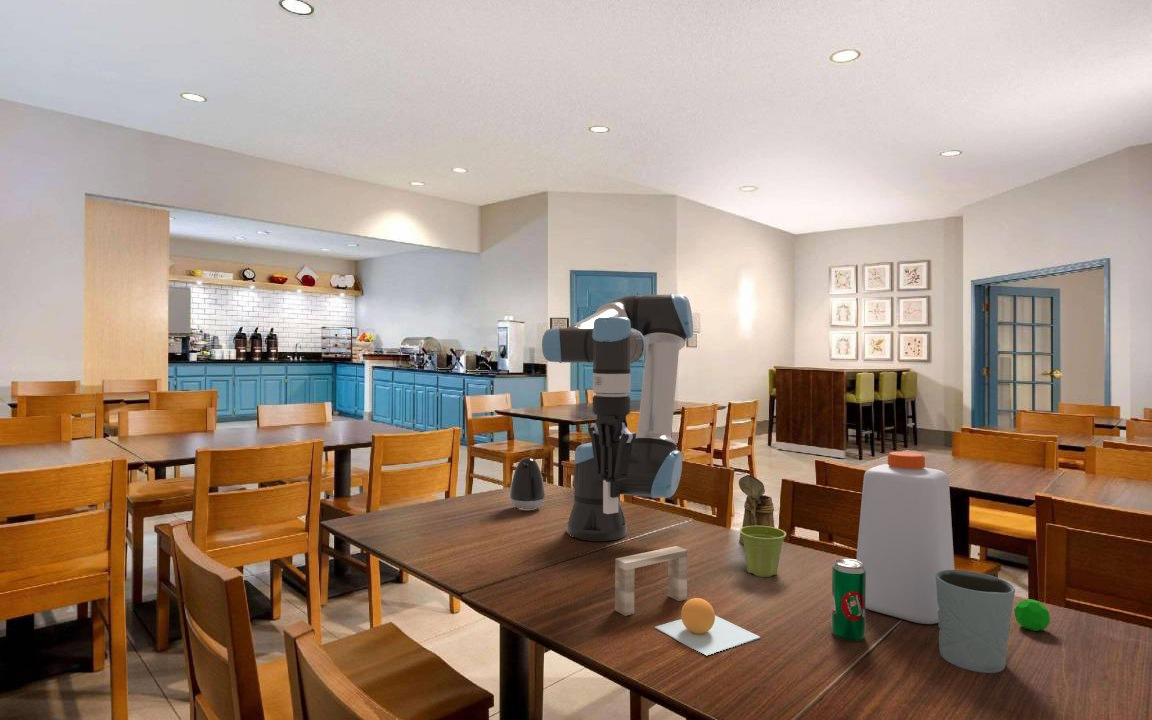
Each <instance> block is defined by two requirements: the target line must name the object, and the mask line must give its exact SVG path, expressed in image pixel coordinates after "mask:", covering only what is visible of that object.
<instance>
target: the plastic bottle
mask: <svg viewBox="0 0 1152 720" xmlns="http://www.w3.org/2000/svg"><path fill="white" fill-rule="evenodd" d="M863 474H864V475H863V484H862V493H861V505H860V516H859V525H858V526H859V527H858V537H857V550H856V559H855V560H856V561H859V562H861V563H863V565H864V566H863V567H864V569H865V571H866V601H865V610H868V611H871V612H872V611H873V612H875V613H880V614H883V615H886V616H890V617H895V618H897V619H901V620H905V621H908V622H912V623H915V624H923V625H933V624H938V610H939V606H938V602H937V587H936V574H937V573H938V572H940V571H944V570H955V559H954V558H955V555H954V545H953V544H954V542H953V527H952V511H951V510H952V508H951V494H950V490H951V489H950V479H949V476H948V474H947V473H946V472H945V471H943V470H940V469H935V468H930V467H926V456H925V455H923V454H922V453H918V452H910V451H891V452H889V453H888V454H887V463H882V464H880V465H875V466H873V467H871V468H868V469H867V470H866V471H865V472H864V473H863Z"/></svg>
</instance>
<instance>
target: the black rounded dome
mask: <svg viewBox="0 0 1152 720" xmlns="http://www.w3.org/2000/svg"><path fill="white" fill-rule="evenodd" d="M542 475H543V474H542V472H541V468H540V467H539V464H538V463H537V461H536V460H535V459H534V458H532V457H523V458H521V460H519V461H518V463H517V464H516V467H515V470H514V473H513V476H512V480H511V484H510V485H511V486H510V489H509V491H510V492H509V498H510V501H511V504H512V506H513V505H514V506H515V507H518V508H523V509H534V508H538V507H539V508H541V506H542V504H543V503H544V498H545V497H546V491H545V484H544V483H545V482H544V480H543V476H542ZM515 507H514V508H515ZM539 508H538V509H539Z"/></svg>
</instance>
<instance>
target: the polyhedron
mask: <svg viewBox="0 0 1152 720" xmlns="http://www.w3.org/2000/svg"><path fill="white" fill-rule="evenodd" d="M1013 610H1014V617H1015V620H1016V622H1017V623H1018V624H1019V625H1020V626H1021V627H1023V628H1024V629H1025V630H1028V631H1032V632H1036V631H1037V632H1038V631H1041V630H1045V629H1047V628H1048V626H1049V624H1050V623H1051V618H1050V611H1049V609H1048V608H1047V606H1045V605H1044V604H1043V603H1041V602H1040V601H1038V600H1036V599H1031V598H1027V599H1023V600H1020V601H1018V602H1017V604H1016V605H1015V607H1014V609H1013Z"/></svg>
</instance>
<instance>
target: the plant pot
mask: <svg viewBox="0 0 1152 720" xmlns="http://www.w3.org/2000/svg"><path fill="white" fill-rule="evenodd" d="M740 533H741V534H742V539H743V541H744V544H743V549H744V555H745V562H746V571H747V572H748V573H749V574H753V575H754V576H755V577H762V578H770V577H772V576H776V575H777V574H778V572H779V571H778V570H779V563H780V557H781V551H782V545H783V544H784V540H785V538H786V537H787V532H786V531H785V530H783V529H780V528H776V527H775V528H774V527H768V526H746V527H743V528H742V527H741V528H740V529H739V534H740Z"/></svg>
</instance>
